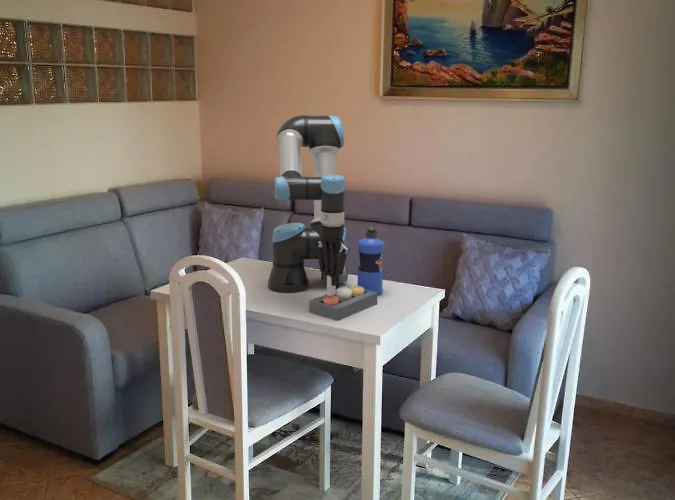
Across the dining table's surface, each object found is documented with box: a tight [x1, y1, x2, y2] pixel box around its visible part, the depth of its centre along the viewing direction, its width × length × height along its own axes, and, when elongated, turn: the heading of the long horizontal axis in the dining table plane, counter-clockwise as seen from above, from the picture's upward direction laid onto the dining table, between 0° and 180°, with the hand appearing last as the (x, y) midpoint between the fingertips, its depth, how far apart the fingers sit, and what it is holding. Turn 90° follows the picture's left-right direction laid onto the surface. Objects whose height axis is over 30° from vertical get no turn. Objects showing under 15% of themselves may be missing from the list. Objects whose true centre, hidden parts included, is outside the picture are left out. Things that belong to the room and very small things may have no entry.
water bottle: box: [356, 224, 385, 297], centre depth 240 cm, size 9×9×25 cm
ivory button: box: [336, 286, 352, 301], centre depth 225 cm, size 5×5×3 cm
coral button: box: [323, 296, 339, 306], centre depth 220 cm, size 5×5×3 cm
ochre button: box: [350, 285, 364, 296], centre depth 231 cm, size 5×5×3 cm
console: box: [308, 285, 379, 322], centre depth 226 cm, size 12×22×4 cm, turn 141°
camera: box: [320, 264, 349, 291], centre depth 251 cm, size 16×9×10 cm, turn 14°
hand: (331, 294), depth 220 cm, fingers closed
